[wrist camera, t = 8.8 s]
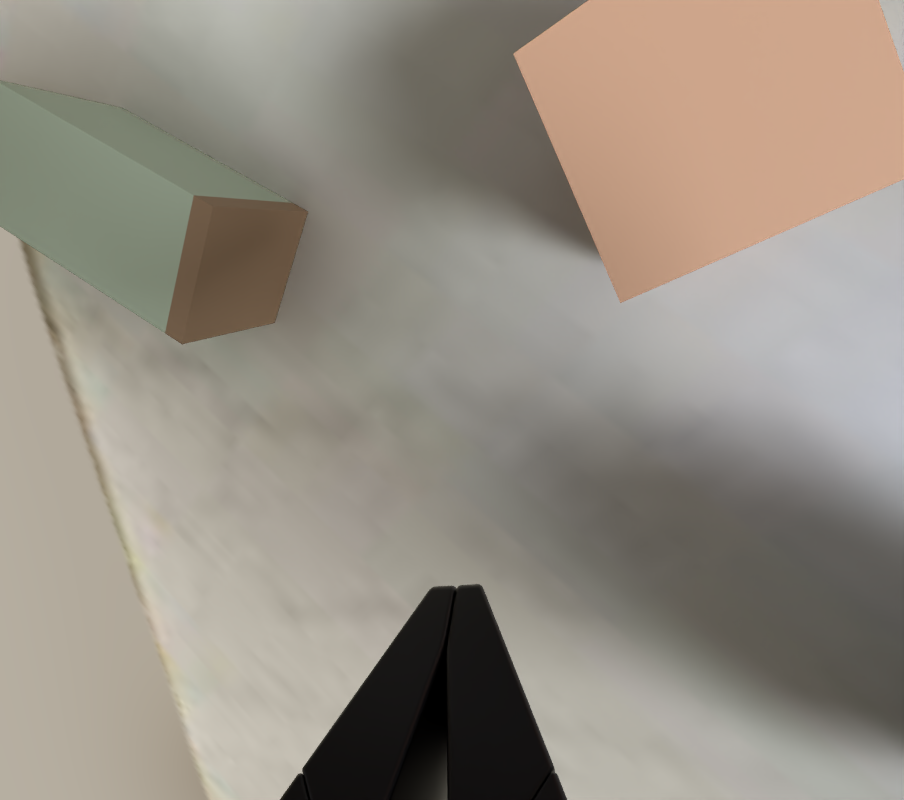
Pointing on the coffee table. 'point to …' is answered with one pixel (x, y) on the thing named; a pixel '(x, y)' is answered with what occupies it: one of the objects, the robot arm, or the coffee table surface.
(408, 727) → the robot arm
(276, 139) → the coffee table surface
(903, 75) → the terracotta block
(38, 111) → the sage block
